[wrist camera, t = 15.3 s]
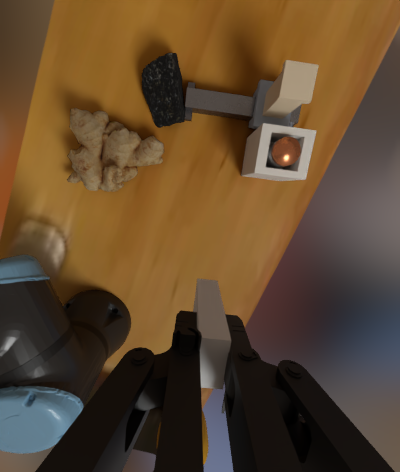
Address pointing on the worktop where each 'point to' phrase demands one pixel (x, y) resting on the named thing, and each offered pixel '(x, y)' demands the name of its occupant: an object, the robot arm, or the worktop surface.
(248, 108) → the rail
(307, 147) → the white square housing
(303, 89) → the carriage
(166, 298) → the worktop surface
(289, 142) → the copper knob
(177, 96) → the rock
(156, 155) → the ginger root
